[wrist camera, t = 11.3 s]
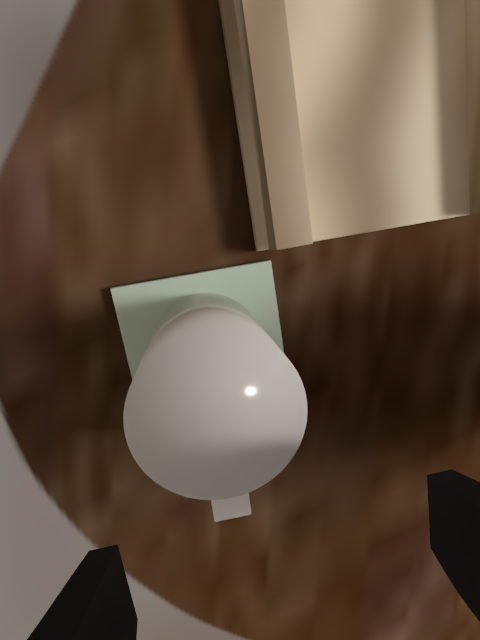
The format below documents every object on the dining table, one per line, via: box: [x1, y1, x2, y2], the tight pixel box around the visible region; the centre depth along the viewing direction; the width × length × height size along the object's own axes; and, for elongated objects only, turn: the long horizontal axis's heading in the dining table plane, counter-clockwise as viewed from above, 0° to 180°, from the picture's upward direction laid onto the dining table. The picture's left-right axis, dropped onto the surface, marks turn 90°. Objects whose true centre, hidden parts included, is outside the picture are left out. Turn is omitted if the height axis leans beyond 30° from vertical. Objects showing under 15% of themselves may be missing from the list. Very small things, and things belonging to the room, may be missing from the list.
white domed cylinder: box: [123, 293, 308, 522], centre depth 14 cm, size 5×6×7 cm
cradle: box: [218, 0, 480, 251], centre depth 15 cm, size 12×10×2 cm
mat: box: [110, 260, 284, 380], centre depth 17 cm, size 7×7×1 cm
